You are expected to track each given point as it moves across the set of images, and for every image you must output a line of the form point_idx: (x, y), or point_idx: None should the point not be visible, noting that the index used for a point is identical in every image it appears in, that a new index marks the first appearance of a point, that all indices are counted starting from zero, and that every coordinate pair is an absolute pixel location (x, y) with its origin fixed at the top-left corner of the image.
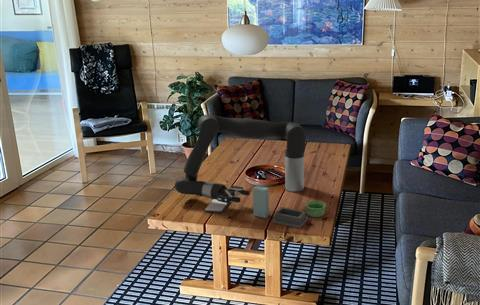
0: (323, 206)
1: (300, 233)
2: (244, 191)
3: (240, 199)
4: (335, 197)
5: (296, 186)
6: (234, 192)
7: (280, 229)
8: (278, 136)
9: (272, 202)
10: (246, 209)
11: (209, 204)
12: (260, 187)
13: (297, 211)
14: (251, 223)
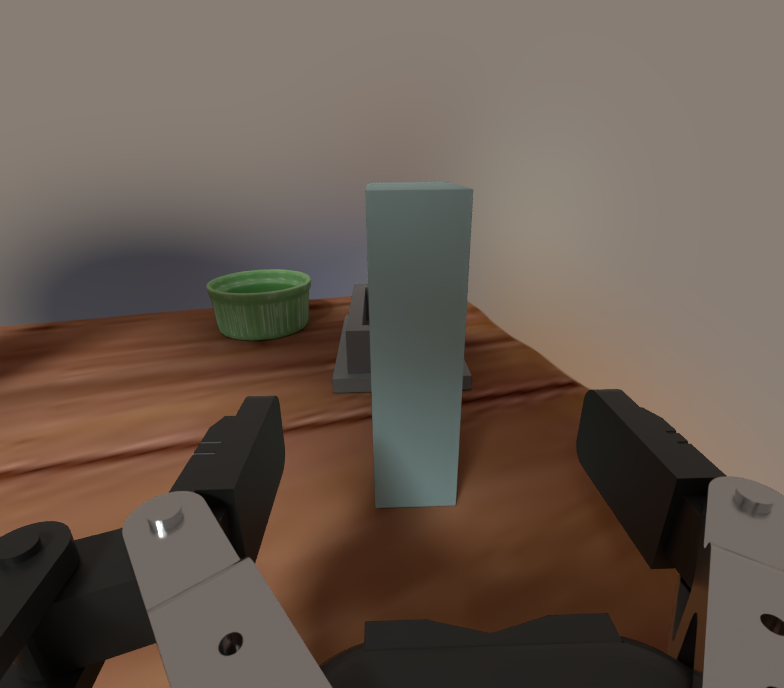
0: (247, 285)
1: (484, 316)
2: (257, 459)
3: (582, 412)
4: (53, 322)
5: None
6: (373, 654)
7: (513, 352)
8: None
9: (88, 494)
10: (345, 647)
11: None
12: (395, 186)
13: (364, 296)
14: None
